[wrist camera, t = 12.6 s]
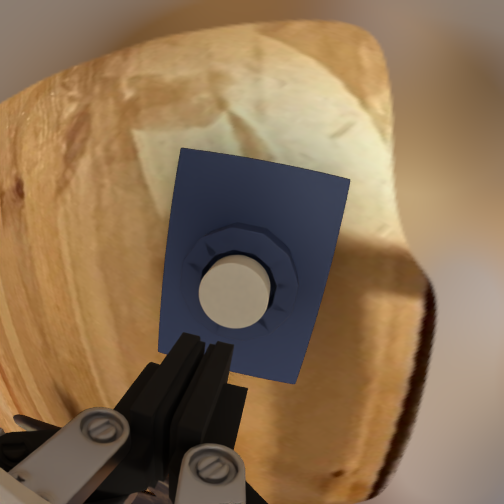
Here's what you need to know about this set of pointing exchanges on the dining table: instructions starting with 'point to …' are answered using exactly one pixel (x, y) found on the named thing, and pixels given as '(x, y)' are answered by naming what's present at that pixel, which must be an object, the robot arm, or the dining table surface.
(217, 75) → the dining table surface
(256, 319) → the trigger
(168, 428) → the robot arm
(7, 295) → the dining table surface
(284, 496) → the dining table surface
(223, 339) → the button housing
